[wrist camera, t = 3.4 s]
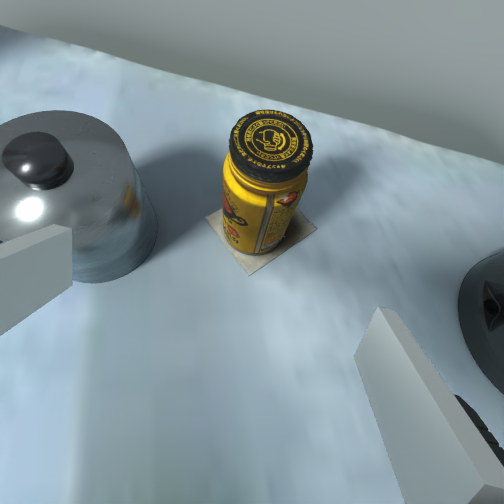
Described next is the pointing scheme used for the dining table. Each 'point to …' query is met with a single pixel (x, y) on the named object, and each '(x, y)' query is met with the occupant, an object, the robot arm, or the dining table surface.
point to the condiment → (264, 188)
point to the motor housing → (75, 191)
